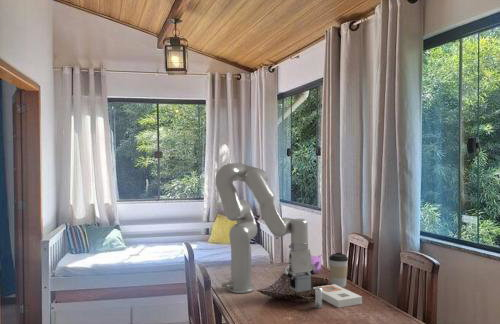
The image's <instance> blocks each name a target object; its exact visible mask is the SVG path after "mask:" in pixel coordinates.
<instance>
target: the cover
mask: <svg viewBox="0 0 500 324" xmlns="http://www.w3.org/2000/svg"><path fill="white" fill-rule="evenodd" d="M294 279H295V288H292V287H291V286H290V285H289V289H291V290H293V291H295V292H297V293H300V292H306V291H312V275H311V276H309V275H307V274H306V273H298V274H295V277H294Z"/></svg>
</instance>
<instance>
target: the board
mask: <svg viewBox="0 0 500 324" xmlns="http://www.w3.org/2000/svg"><path fill="white" fill-rule="evenodd" d="M316 287H317V286H315V287H314V286H313V287H312V290H313V289H315V288H316ZM319 287H321V288H322V301H323V300H324V301H325V302H327V303H328V304H331V305H333V306H334V307H336V308H338V309H340V308H345V307H350V306H356V305H362V304H363V296H361V295H359V294H357V293H355V292H353V291H350V290H348V289H346V288H344V287H340V286H338V285H335V284H333V285H332V284H327V285H321V286H319Z"/></svg>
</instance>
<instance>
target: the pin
mask: <svg viewBox="0 0 500 324" xmlns="http://www.w3.org/2000/svg"><path fill="white" fill-rule="evenodd" d="M315 287H316V288H315V295H314V296H315V298H314V299H315V309H322V308H323V299H322V288H321V287H320V286H315Z"/></svg>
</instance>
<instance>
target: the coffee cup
mask: <svg viewBox="0 0 500 324" xmlns="http://www.w3.org/2000/svg"><path fill="white" fill-rule="evenodd" d="M328 259H329V272H330V273H329V274H330V280H331V281H330V282H331V284H330V285H333V284H335V285H338V286H340V287H342V288H344V287H346V286H347V277H348V266H349V265H348V261H349V258H348V256H347V255H346V254H345V253H341V252H335V253H333V254H331V255H330V256H329V257H328Z"/></svg>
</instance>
